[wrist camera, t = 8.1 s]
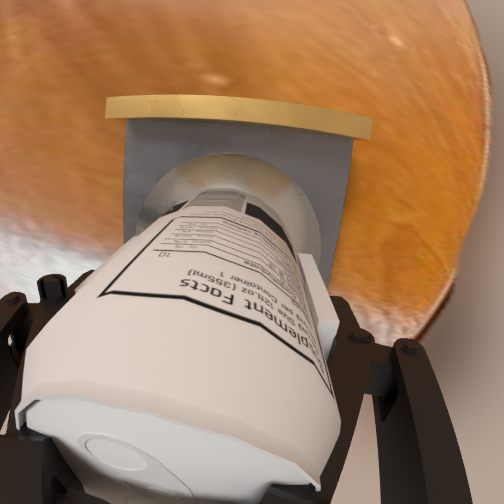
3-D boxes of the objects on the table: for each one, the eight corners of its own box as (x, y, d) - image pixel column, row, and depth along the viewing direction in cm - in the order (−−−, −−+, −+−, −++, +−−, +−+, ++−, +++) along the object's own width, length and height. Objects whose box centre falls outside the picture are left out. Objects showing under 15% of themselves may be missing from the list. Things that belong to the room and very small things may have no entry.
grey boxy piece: (150, 313, 27) (120, 368, 20) (153, 108, 21) (106, 97, 14) (301, 329, 28) (312, 391, 20) (336, 124, 21) (372, 118, 14)
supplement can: (306, 290, 20) (362, 524, 6) (188, 322, 21) (122, 531, 7) (267, 167, 17) (311, 304, 3) (138, 213, 18) (-51, 372, 4)
